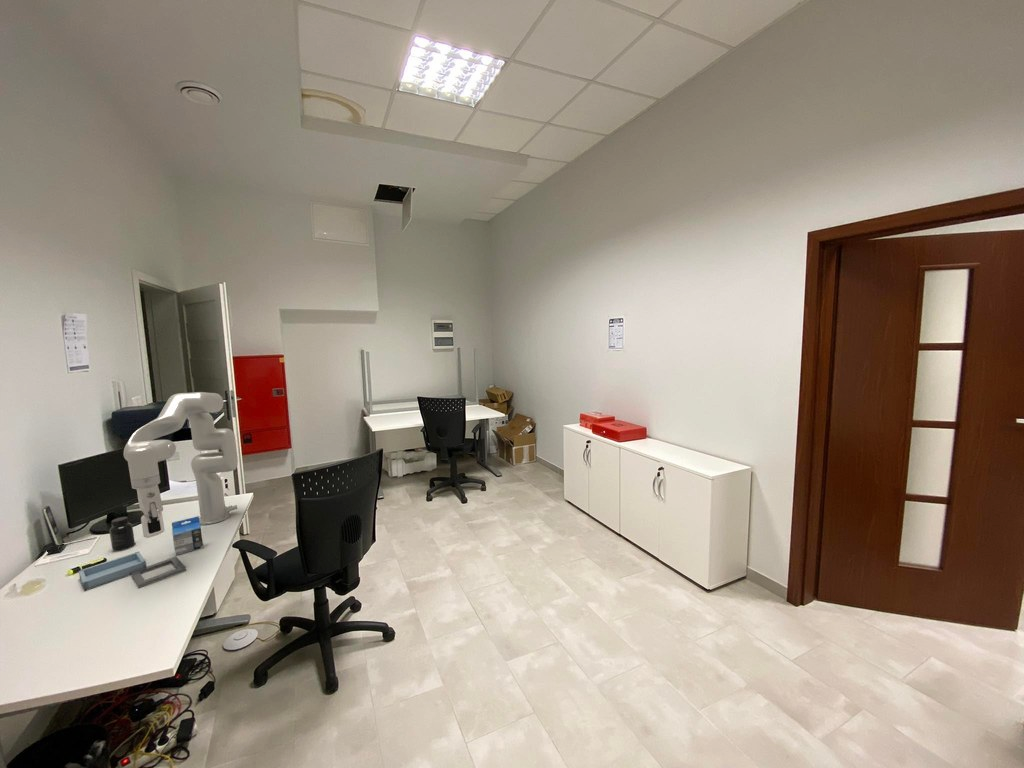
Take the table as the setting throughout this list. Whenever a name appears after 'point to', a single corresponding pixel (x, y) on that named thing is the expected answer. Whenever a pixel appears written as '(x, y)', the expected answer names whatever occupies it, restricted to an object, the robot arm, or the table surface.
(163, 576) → the gray square frame
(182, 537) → the label tape box
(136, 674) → the table surface
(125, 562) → the tray
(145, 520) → the eye dropper bottle
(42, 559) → the photo frame
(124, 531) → the supplement bottle
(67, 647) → the table surface
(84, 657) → the table surface
